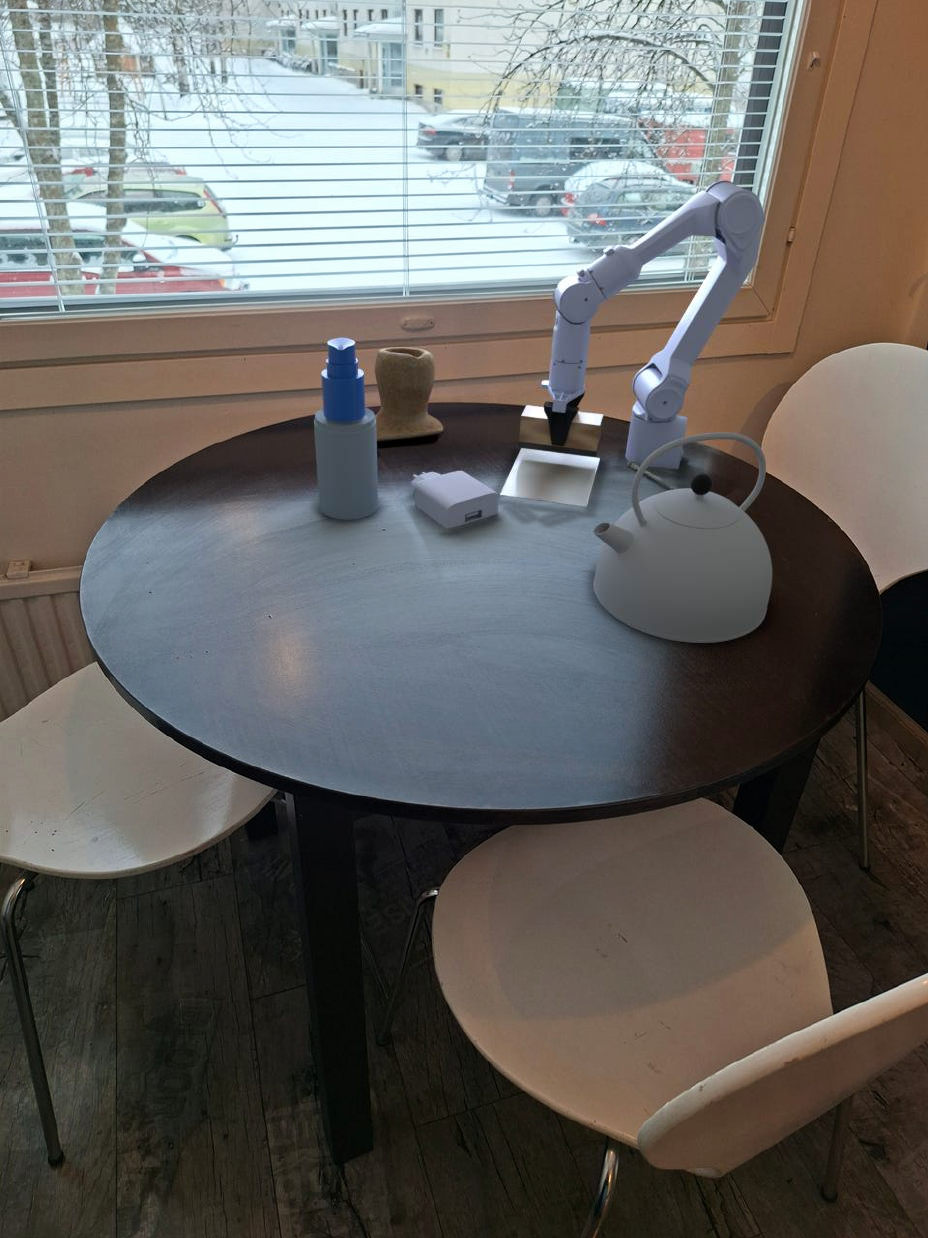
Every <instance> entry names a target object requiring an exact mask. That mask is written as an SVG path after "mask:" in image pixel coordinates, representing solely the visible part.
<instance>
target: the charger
mask: <svg viewBox="0 0 928 1238" xmlns="http://www.w3.org/2000/svg"><path fill="white" fill-rule="evenodd" d="M412 478H414V479H412V480H411V481H410V483H409V484H410V486H412V487H413V488H414V506H415V507H416V508H418V509H419V510H420V511H422V512H423V513H424V514H426V515H427V516H429V518H431V519H433V520H434V521H435V522H436V523H438V524H439V525H441V526H442V527H444V529H446V530H449V529H452V528H456V527H459V526H463V525H467V524H469V523H472V522H476V521H480V520H482V519H486V518H489V517H491V516H495V515H498V514H499V503H500V493H498V492H497V491H495V490H493V489H492V488H491V487H489V486H487V485H485V484H484V483H483V482H481V481H479V480H477V479H476V478H475V477H473V476H471V475H470V474H468V473H467V472H465V471H464V470H456V471H451V472H448V473H444V474H440V473H439V472H435V471H430V472H425V471H422V472H421V474H419V475H417V474H415V473H414V474H412Z"/></svg>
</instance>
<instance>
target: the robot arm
mask: <svg viewBox="0 0 928 1238" xmlns="http://www.w3.org/2000/svg"><path fill="white" fill-rule="evenodd" d="M765 222H766V216H765V213H764V209H763V205H762V202H761V200H760V198H759V196H758V195H757V194H756V193H755V192H753V191H751V190H749V189H745V188H742V187H740V186H738V185H737V184H736V183H734V182H733V181H731V180H726V179H721V180H717V181H715V182H713V183H711V184H710V185H709V186H708V187H707V188H706V189H705V190H701V191H698V192H697V193H695V194H694V195H693V196H692V197H691V198H690V199H689V200H688V201H686V203H684V204H683V205H682V206H681V207H679V208H678V209H676V211H674V212H673V213H671V214H670V215H669V216H667V217H666V218H665V219H664V220H662V221H661V222H660V223H658V224H657V225H656V226H654V228H652V229H651V230H649V231H648V232H647V233H646V234H644V235H643V236H642V237H641V238H639V239H638V240H637V241H636V242H634V243H633V244H632V245H623V244H617V245H616V246H614V247H612V245H609V246H607V247H606V248H604V249H603V255H602V256H601V257H599V258H598V259H596V260H595V261H593V262H592V263H591V264H589V265H588V266H587V267H584V269H583V267H580V268H579V269H577V270H576V274H577V275H569V276H567V277H564V278H563V279H562V280H561V281H559V283H557V287H556V288H555V290H554V292H552V300H553V304H554V306H555V307H556V308H557V309H556V311H555V318H554V326H553V331H552V332H553V333H552V344H551V353H550V365H549V374H548V375H549V376H548V380H542V381H541V383H540V387H541V389H545V390H547V392H548V393H549V395H550V397H551V399H552V401H547V400H546V401H544V403H543V407H544V412H545V414H546V416H547V419H548V422H549V428H550V438H551V443H552V445H555V446H564V445H565V443H566V440H567V437H568V433H569V429H570V426H571V423H572V421H573V419H574V417H575V416H576V414H577V413H578V412H580V407H579V405H580V403H581V401H582V400H583V398H584V397H585V394H586V385H585V380H586V372H587V366H588V365H587V364H588V363H587V362H588V356H589V347H590V337H591V324H592V319H593V318H594V317H595V316H596V314H597V313H598V310H599V307H600V305H602V304H604V303H605V302H606V301H608V300H610V299H611V298H613V297H614V296H616V295H617V294H618V293H620V292H621V291H622V290H625V288H627V287H628V286H630V285H632V284H633V283H634V282H636V281H637V280H639V278H640V276H641V273H642V272H641V271H642V268H643V267H644V266H645V265H646V264H648V263H650V262H651V261H653V260H654V259H656V258H657V257H659V256H661V255H662V254H664V253H665V252H667V251H669V250H670V249H672V248H673V247H676V245H678V244H680V243H682V242H683V241H685V240H686V239H688V238H689V237H692V236H695V237H713V239H714V244H715V248H716V251H717V258H716V260H715V262H714V263H713V265H712V267H711V268H710V270H709V272H708V273H707V275H706V277H705V279H704V280H703V282H702V284H701V285H700V287H699V289H698V290H697V292H696V294H695V295H694V297H693V299H692V301H690V304H689V306H688V307H687V309H686V310H685V312H684V313H683V316H682V317H681V319H680V321H678V324H677V325H676V328H675V329H674V330H673V333H672V334H671V336H670V337H669V339H668V341H667V343H666V344H665V345H664V347H663V349H662V350H660V351H658V352H657V353H654V354H653V355H652V357H651V358H650V360H649V362H648V363H647V364H646V365H645V366H643V367H642V368H641V369H639V370H638V371H637V372H636V374H635V375H634V377H633V379H632V383H631V390H632V393H633V395H634V396H635V398H636V400H635V403H634V405H633V406H632V410H631V416H630V422H629V429H628V436H627V441H626V442H627V443H626V450H625V459H626V460H627V461H628V462H630V461H634V462H635V464H636V465H638V466H639V467H640V466H641V465H642V463H643V462H644V461H645V460H646V458H647V457H648V456H649V455H651V454H652V453H653V452H654V451H656V450H657V449H659V448H660V447H662V446H664V445H666V444H668V443H670V442H672V441H675V440H677V439H681V438H684V437H686V432H687V431H686V430H687V424H688V417H687V416H682V415H680V412H681V410H682V409H683V407H684V402H685V395H686V392H687V390H688V389H689V387H690V386H691V380H692V379H691V377H692V368H693V365H694V364H695V362H696V361H697V359H698V357H699V356H700V354H701V353H702V351H703V349H704V348H705V346H706V344H707V343H708V342H709V340H710V338H711V336H712V335H713V333H714V332H715V330H716V329H717V327H718V325H719V323H720V322H721V321H722V319H723V317H724V315H725V314H726V312H727V310H728V309H729V307H730V306H731V304H732V303H733V301H734V299H735V298H736V296H737V294H738V293H739V291H740V290H741V288H742V286H743V285H744V283H745V281H746V280H747V278H748V276H749V275H750V273H751V272H752V270H753V268H754V267H755V265H756V263H757V261H758V258H759V257H758V255H759V249H760V239H761V232H762V227H763V225H764V224H765ZM683 447H684V445H681V446H678V447H675V448H673V449H671V450H669V451H667V452H665V453H663V454H662V455H660V456H659V457H657V458H656V459H655V460H654V461H653V462H652V463H651V464H650V465H649V466H648V468H663V469H670V470H680V469H679V468H680V464H681V461H682V460H683V456H684V449H683Z"/></svg>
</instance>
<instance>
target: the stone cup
mask: <svg viewBox="0 0 928 1238" xmlns="http://www.w3.org/2000/svg"><path fill="white" fill-rule="evenodd" d="M435 375H436V368H435V358H434V355H433V354H432V353H431V352H430V351H428V350H425V349H422V348H417V347H409V346H396V347H395V346H394V347H385V348H380V349H379V350H378V351H377V353H376V357H375V361H374V376H375V381H376V385H377V390H378V395H379V401H380V409H379V411H378V412H377V413H376V414H375V419H376V436H377V442H387V441H388V442H389V441H396V440H398V441H399V440H407V439H416V438H423V437H428V436H435V435H438V434H441V433H442V432H443V431H444V426H443V424H442V422H440V421H439V420H438V419H437V418H436V417H434V416H432V415H431V414H429V413H428V406H429V400H430V396H431V394H432V391H433V387H434V383H435Z"/></svg>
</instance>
